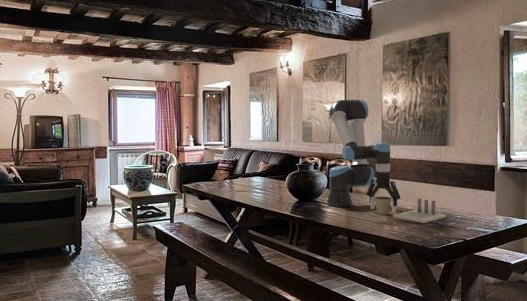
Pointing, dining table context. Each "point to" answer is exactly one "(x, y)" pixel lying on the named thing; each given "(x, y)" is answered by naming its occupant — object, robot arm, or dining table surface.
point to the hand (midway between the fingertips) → (383, 210)
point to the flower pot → (383, 205)
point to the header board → (421, 214)
